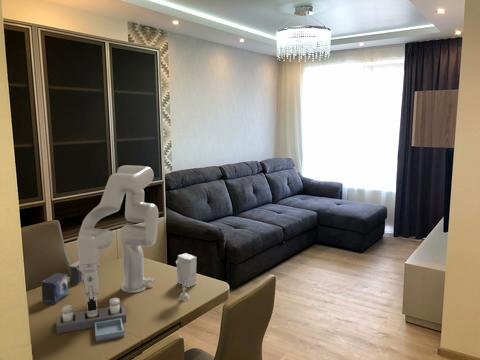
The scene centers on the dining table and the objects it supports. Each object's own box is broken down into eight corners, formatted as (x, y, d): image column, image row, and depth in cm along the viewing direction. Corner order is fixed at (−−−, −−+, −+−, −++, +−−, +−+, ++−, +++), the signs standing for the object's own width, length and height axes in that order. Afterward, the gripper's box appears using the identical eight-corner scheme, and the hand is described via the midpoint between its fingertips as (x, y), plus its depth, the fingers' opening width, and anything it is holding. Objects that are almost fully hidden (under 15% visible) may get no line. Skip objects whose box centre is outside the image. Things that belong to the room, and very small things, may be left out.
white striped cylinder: (97, 312, 167) (96, 294, 166) (98, 317, 163) (96, 298, 162) (87, 314, 166) (86, 296, 164) (87, 319, 162) (86, 300, 160)
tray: (121, 323, 163) (121, 318, 163) (124, 336, 154) (123, 330, 153) (95, 328, 159) (94, 322, 159) (95, 342, 150) (95, 336, 150)
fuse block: (124, 311, 173) (123, 304, 173) (126, 321, 165) (125, 314, 164) (58, 322, 164) (57, 315, 163) (56, 333, 156) (56, 326, 155)
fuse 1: (73, 322, 164) (72, 304, 162) (73, 327, 160) (72, 308, 159) (63, 324, 162) (61, 305, 161) (62, 329, 159) (61, 310, 157)
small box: (54, 305, 178) (53, 283, 176) (42, 303, 179) (40, 281, 178) (69, 294, 188) (68, 273, 187) (57, 293, 190) (55, 272, 188)
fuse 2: (119, 314, 170) (119, 297, 169) (120, 319, 166) (119, 301, 165) (109, 316, 169) (109, 298, 167) (110, 321, 165) (109, 302, 164)
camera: (76, 286, 198) (75, 266, 196) (67, 284, 199) (65, 265, 198) (91, 277, 208) (90, 258, 207) (82, 275, 210) (81, 257, 208)
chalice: (194, 296, 187) (194, 260, 184) (188, 303, 181) (187, 265, 178) (180, 294, 189) (179, 258, 186) (173, 300, 183) (172, 263, 180)
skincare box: (176, 283, 201) (176, 255, 199) (185, 280, 206) (185, 252, 203) (188, 288, 196) (187, 259, 193) (197, 284, 200) (196, 256, 198)
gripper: (99, 271, 154) (102, 315, 157) (98, 256, 169) (100, 297, 173) (78, 274, 151) (82, 319, 155) (79, 259, 167) (82, 299, 170)
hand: (92, 307), depth 164 cm, fingers closed on white striped cylinder, 4 cm apart
